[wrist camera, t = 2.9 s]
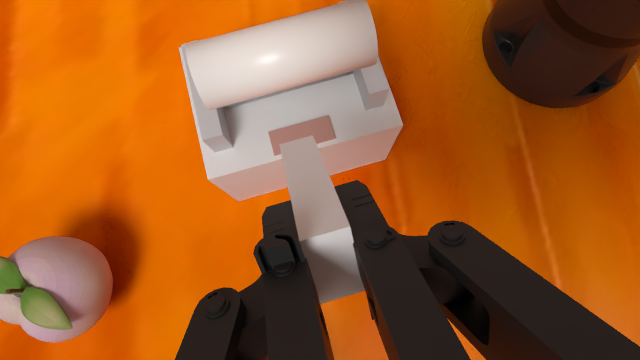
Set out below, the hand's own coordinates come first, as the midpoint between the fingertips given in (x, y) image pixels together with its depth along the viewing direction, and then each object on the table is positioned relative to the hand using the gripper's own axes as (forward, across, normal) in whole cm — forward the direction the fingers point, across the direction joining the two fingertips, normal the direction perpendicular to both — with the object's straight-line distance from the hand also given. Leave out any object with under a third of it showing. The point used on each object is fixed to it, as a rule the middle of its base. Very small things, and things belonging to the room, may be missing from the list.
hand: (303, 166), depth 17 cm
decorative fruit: (+17, -23, -15) cm, 32 cm away
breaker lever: (+16, +1, 0) cm, 16 cm away
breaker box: (+23, +1, -8) cm, 24 cm away
